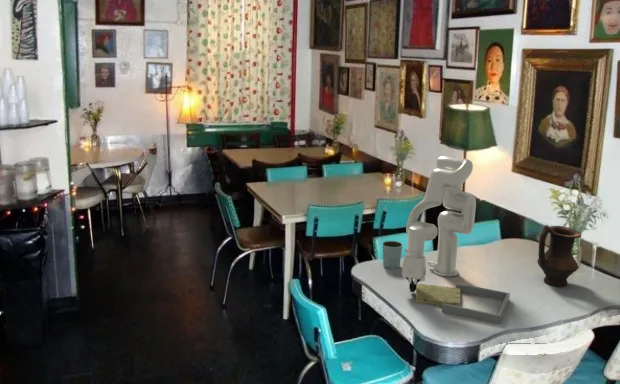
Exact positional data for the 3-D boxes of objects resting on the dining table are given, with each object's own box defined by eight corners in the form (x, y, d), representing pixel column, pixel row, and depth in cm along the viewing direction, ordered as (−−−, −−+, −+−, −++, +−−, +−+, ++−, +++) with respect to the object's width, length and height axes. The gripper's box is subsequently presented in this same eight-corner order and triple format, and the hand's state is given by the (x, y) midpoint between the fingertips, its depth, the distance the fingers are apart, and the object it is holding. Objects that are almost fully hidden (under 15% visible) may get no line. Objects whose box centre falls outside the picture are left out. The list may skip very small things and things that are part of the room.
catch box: (441, 311, 264) (442, 304, 264) (456, 290, 288) (456, 283, 287) (499, 323, 254) (500, 316, 254) (509, 300, 278) (510, 293, 277)
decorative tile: (416, 289, 290) (417, 282, 289) (460, 293, 285) (461, 286, 284) (413, 305, 272) (414, 297, 271) (460, 310, 268) (461, 302, 267)
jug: (558, 274, 312) (565, 217, 305) (584, 287, 295) (593, 227, 288) (523, 278, 305) (529, 220, 298) (548, 292, 288) (555, 231, 281)
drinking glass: (404, 265, 319) (405, 243, 316) (395, 271, 310) (397, 248, 308) (386, 261, 324) (387, 239, 321) (377, 266, 316) (379, 244, 313)
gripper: (396, 252, 279) (394, 290, 283) (429, 258, 272) (426, 297, 277) (402, 248, 285) (399, 285, 289) (433, 253, 279) (430, 291, 283)
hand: (412, 290), depth 283 cm, fingers closed
